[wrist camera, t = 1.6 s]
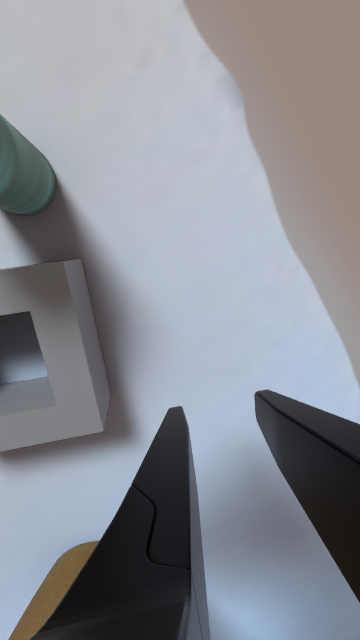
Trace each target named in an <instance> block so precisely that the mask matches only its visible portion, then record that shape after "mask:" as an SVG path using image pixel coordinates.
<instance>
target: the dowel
mask: <svg viewBox="0 0 360 640" xmlns="http://www.w3.org/2000/svg"><path fill="white" fill-rule="evenodd" d="M55 188H56V180H55V175H54V171H53V169H52V166H51V165H50V163H49V161H48V160H47V158H46V157H45V156H44V155H43V154H42V153H41V152H40V151H39V150H38V149H37V148H36V147H35V146H34V145H33V144H31V143H30V142H29V141H28V140H27V139H26V138H25V137H24V136H23V135H22V134H21V133H20V132H19V131H18V130H17V129H16V128H15V127H14V126H12V125H11V124H10V123H9V122H8V121H7V120H6V119H5V118H4V117H3V116H2V115H1V114H0V209H1V210H5V211H8V212H12V213H16V214H21V215H30V214H35V213H38V212H40V211H42V210H43V209H45V208H46V207H47V206H48V205H49V203H50V202H51V200H52V199H53V196H54V193H55Z"/></svg>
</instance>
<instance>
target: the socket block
mask: <svg viewBox="0 0 360 640" xmlns="http://www.w3.org/2000/svg"><path fill="white" fill-rule="evenodd" d="M27 311H30V313H31V317H32V320H33V324H34V327H35V331H36V334H37V338H38V342H39V345H40V349H41V352H42V356H43V359H44V363H45V366H46V370H47V374H48V377H44V378H38V379H32V380H27V381H21V382H15V383H9V384H4V385H0V452H1V451H6V450H11V449H16V448H21V447H27V446H32V445H37V444H42V443H47V442H52V441H57V440H62V439H67V438H72V437H78V436H83V435H88V434H93V433H98V432H103V431H104V427H105V422H106V417H107V412H108V407H109V402H110V397H111V391H110V386H109V382H108V377H107V373H106V368H105V363H104V359H103V354H102V350H101V345H100V341H99V336H98V331H97V327H96V322H95V318H94V313H93V309H92V304H91V299H90V295H89V290H88V286H87V281H86V277H85V272H84V267H83V263H82V258H80V259H73V260H65V261H58V262H50V263H43V264H36V265H28V266H21V267H14V268H6V269H0V315H7V314H13V313H20V312H27Z"/></svg>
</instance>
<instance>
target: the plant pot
mask: <svg viewBox="0 0 360 640" xmlns="http://www.w3.org/2000/svg"><path fill="white" fill-rule="evenodd" d="M98 543H99V542H89V543H85V544H81V545H78V546H76V547H74V548H72V549H70V550H69V551H67V552H66V553H64V554H63V555H62V556H61V557H60V558H59V559H58V560H57V561H56V563H55V564H54V566H53V567H52V569H51V570H50V572H49V573H48V575H47V577H46V578H45V580H44V581H43V583H42V584H41V586H40V588H39V589H38V591H37V592H36V594H35V595H34V597H33V599H32V600H31V602H30V604H29V605H28V607H27V609H26V610H25V612H24V614H23V615H22V617H21V619H20V621H19V622H18V624H17V626H16V627H15V629H14V631H13V633H12V634H11V636H10V638H9V640H29V639H30V638H31V637H32V636H33V635H34V634H35V633H36V632H37V631H38V630H39V629H40V628H41V627H42V626H43V624H44V623H45V622H46V621H47V619H48V618H49V617H50V616H51V614H52V613H53V612H54V610H55V609H56V607H57V606H58V604H59V603H60V602H61V600H62V598H63V597H64V595H65V594H66V592H67V591H68V589H69V588H70V586H71V585H72V583H73V581H74V580H75V578H76V577H77V575H78V574H79V572H80V571H81V569H82V568H83V566H84V564H85V563H86V561H87V560H88V558H89V557H90V555H91V554H92V552H93V550H94V549H95V547H96V546H97V544H98Z"/></svg>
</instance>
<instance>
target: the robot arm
mask: <svg viewBox="0 0 360 640" xmlns="http://www.w3.org/2000/svg"><path fill="white" fill-rule="evenodd" d="M254 397H255V413H256V419H257V422H258V424H259V427H260V429H261V431H262V433H263V435H264V437H265V440H266V442H267V444H268V446H269V448H270V450H271V453H272V455H273V457H274V459H275V461H276V463H277V465H278V467H279V469H280V471H281V472H282V474H283V476H284V478H285V479H286V481H287V483H288V484H289V486H290V488H291V489H292V491H293V493H294V494H295V496H296V498H297V499H298V501H299V503H300V504H301V506H302V507H303V509H304V511H305V512H306V514H307V516H308V517H309V519H310V521H311V522H312V524H313V526H314V527H315V529H316V531H317V532H318V534H319V536H320V537H321V539H322V541H323V542H324V544H325V546H326V547H327V549H328V551H329V552H330V554H331V556H332V557H333V559H334V561H335V562H336V564H337V566H338V567H339V569H340V571H341V572H342V574H343V576H344V577H345V579H346V581H347V582H348V584H349V586H350V587H351V589H352V591H353V592H354V594H355V596H356V597H357V599H358V601H359V602H360V424H357V423H355V422H352V421H349V420H347V419H344V418H342V417H339V416H336V415H334V414H331V413H328V412H326V411H323V410H320V409H318V408H315V407H313V406H310V405H307V404H305V403H302V402H299V401H297V400H294V399H291V398H289V397H286V396H284V395H281V394H278V393H276V392H273V391H270V390H262V391H257V392H256V393H255V396H254ZM29 640H210V630H209V619H208V607H207V596H206V584H205V573H204V562H203V550H202V539H201V527H200V516H199V504H198V493H197V484H196V477H195V470H194V462H193V455H192V448H191V441H190V434H189V427H188V423H187V420H186V417H185V414H184V411H183V408H182V407H181V406H178V407H173V408H169V409H168V411H167V413H166V415H165V418H164V420H163V422H162V424H161V426H160V428H159V430H158V432H157V434H156V436H155V438H154V440H153V442H152V444H151V446H150V448H149V450H148V452H147V454H146V456H145V458H144V460H143V462H142V464H141V466H140V468H139V470H138V472H137V474H136V476H135V478H134V480H133V482H132V484H131V487H130V488H129V490H128V492H127V494H126V496H125V498H124V500H123V502H122V504H121V506H120V507H119V509H118V511H117V513H116V515H115V517H114V518H113V520H112V522H111V523H110V525H109V527H108V528H107V530H106V531H105V533H104V535H103V536H102V538H101V540H100V541H99V543H98V544H97V546H96V547H95V549H94V550H93V552H92V554H91V555H90V557H89V558H88V560H87V561H86V563H85V564H84V566H83V568H82V569H81V571H80V572H79V574H78V575H77V577H76V578H75V580H74V581H73V583H72V585H71V586H70V588H69V589H68V591H67V592H66V594H65V595H64V597H63V598H62V600H61V602H60V603H59V604H58V606H57V607H56V609H55V610H54V612H53V613H52V614H51V616H50V617H49V618H48V619H47V621H46V622H45V623H44V624H43V626H42V627H41V628H40V629H39V630H38V631H37V632H36V633H35V634H34V635H33V636H32V637H31V638H30V639H29Z"/></svg>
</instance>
